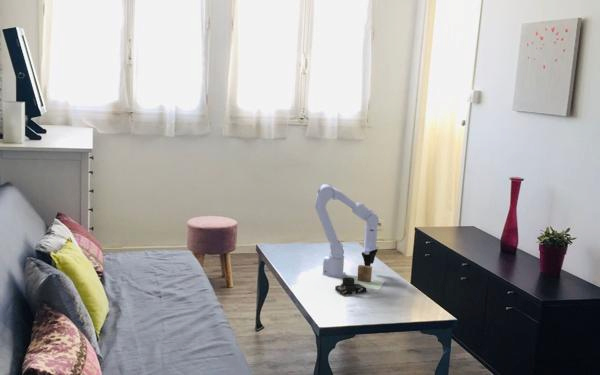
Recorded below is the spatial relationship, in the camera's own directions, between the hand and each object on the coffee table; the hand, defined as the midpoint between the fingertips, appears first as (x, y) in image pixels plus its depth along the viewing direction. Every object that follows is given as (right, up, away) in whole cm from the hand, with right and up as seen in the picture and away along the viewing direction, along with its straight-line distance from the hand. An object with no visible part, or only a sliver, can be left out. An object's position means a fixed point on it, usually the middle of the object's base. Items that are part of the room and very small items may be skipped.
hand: (369, 265), depth 303 cm
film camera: (-11, -9, -23) cm, 27 cm away
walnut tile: (-3, -6, -8) cm, 10 cm away
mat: (-4, -7, -10) cm, 13 cm away
